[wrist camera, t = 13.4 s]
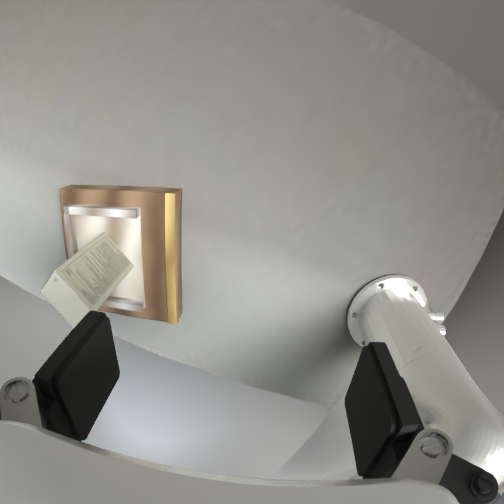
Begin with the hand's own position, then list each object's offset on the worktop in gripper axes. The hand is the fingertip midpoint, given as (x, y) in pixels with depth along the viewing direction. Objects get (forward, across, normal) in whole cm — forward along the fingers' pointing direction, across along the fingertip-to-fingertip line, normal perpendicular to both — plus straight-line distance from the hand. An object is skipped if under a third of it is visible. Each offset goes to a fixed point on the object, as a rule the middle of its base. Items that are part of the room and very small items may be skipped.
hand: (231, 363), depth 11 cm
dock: (+30, +18, +9) cm, 37 cm away
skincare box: (+27, +19, +9) cm, 34 cm away
